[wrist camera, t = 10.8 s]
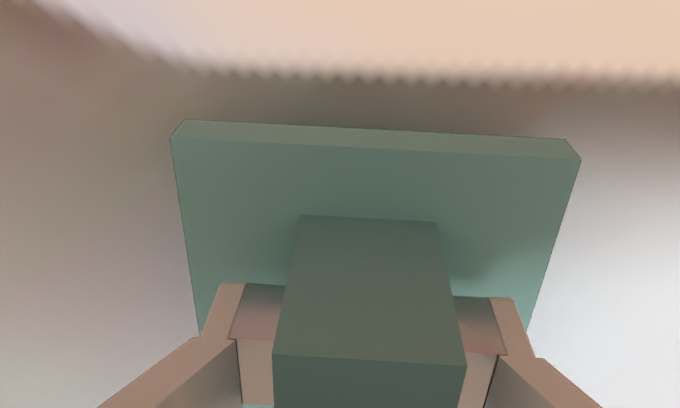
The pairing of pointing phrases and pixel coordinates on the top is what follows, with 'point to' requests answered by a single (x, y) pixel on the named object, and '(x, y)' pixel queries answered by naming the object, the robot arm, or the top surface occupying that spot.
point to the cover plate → (372, 180)
